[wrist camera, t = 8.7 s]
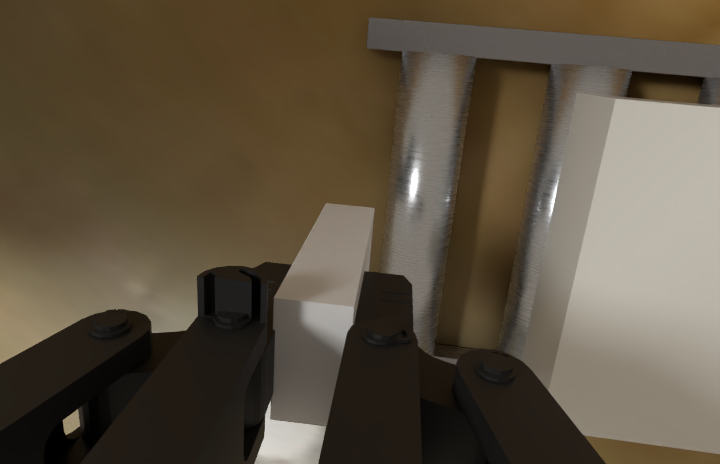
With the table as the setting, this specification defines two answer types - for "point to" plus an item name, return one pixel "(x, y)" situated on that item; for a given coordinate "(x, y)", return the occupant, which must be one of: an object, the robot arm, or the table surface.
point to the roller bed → (447, 135)
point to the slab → (634, 275)
